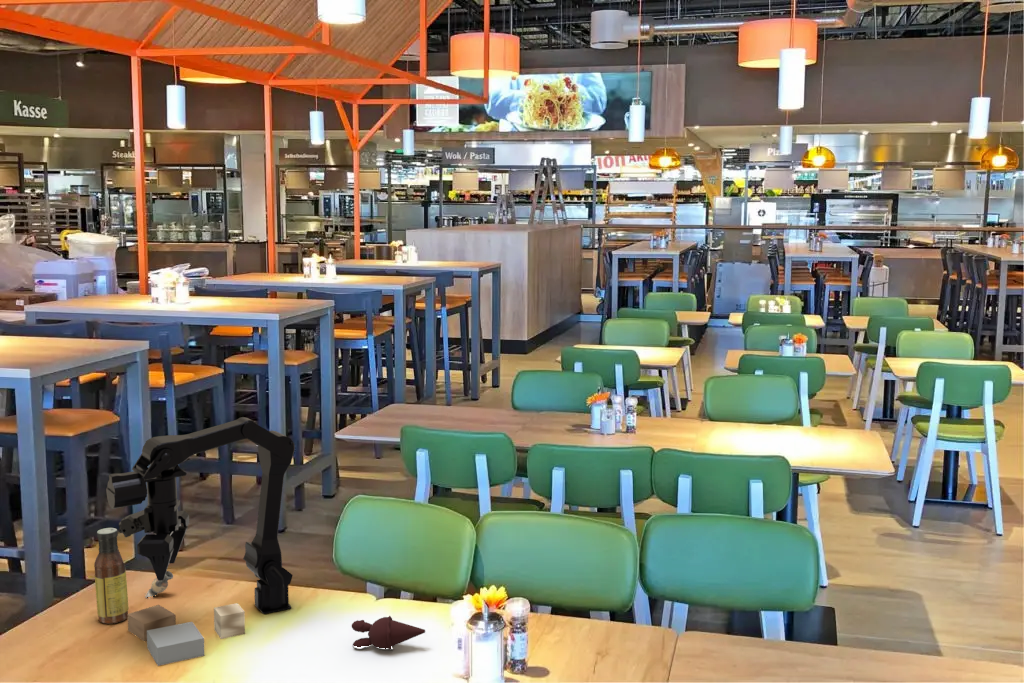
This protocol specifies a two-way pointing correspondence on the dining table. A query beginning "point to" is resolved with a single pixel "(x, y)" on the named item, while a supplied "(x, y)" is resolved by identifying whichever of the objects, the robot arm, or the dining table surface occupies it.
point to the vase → (159, 585)
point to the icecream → (385, 632)
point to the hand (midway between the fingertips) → (166, 571)
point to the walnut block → (149, 620)
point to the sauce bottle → (110, 579)
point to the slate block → (175, 643)
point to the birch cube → (229, 620)
